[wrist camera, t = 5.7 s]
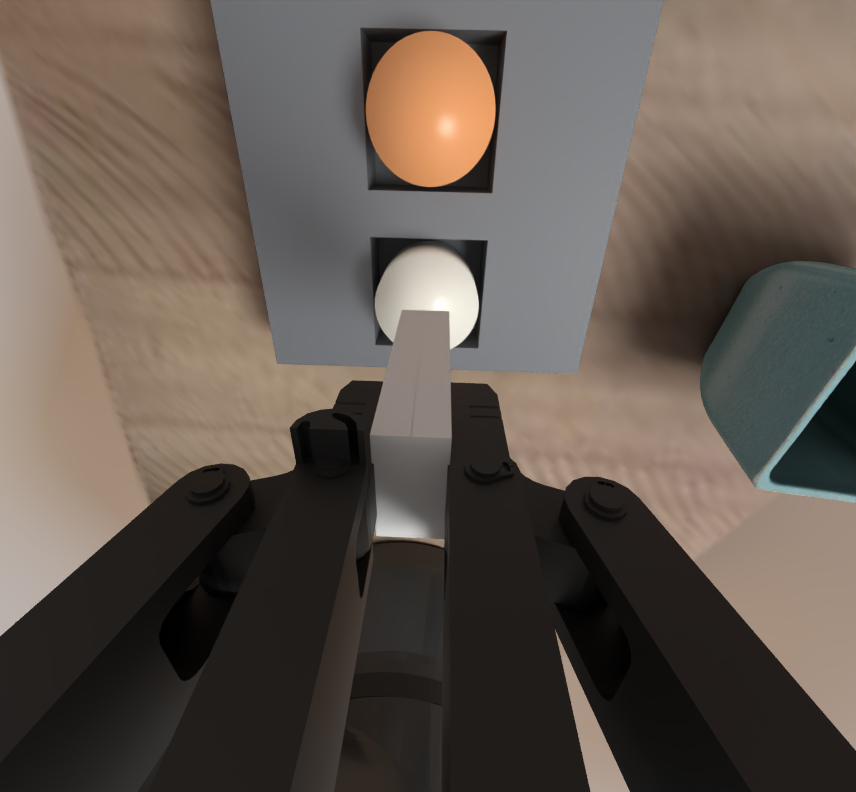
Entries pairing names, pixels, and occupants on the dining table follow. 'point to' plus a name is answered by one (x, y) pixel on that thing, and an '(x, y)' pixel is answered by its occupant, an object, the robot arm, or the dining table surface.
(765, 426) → the flower pot
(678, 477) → the dining table surface
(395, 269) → the cream button
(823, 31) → the dining table surface
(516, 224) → the button panel
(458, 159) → the orange button
